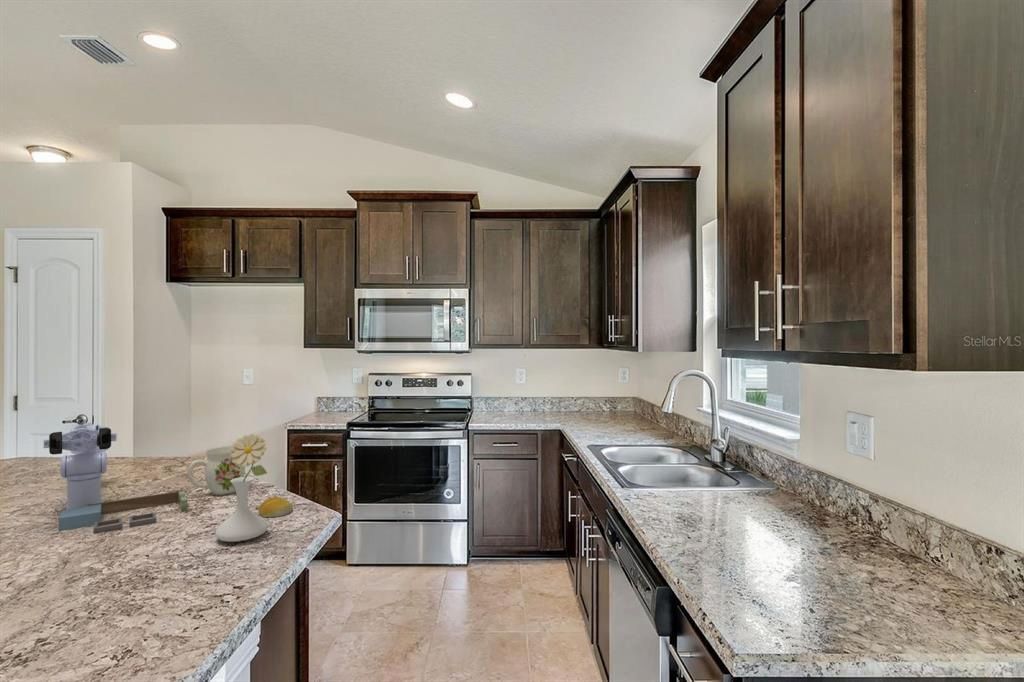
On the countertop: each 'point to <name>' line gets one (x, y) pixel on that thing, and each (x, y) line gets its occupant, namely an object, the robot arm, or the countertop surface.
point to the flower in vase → (244, 492)
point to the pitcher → (218, 471)
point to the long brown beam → (144, 502)
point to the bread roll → (275, 507)
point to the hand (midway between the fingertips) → (78, 443)
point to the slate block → (79, 517)
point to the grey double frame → (117, 523)
